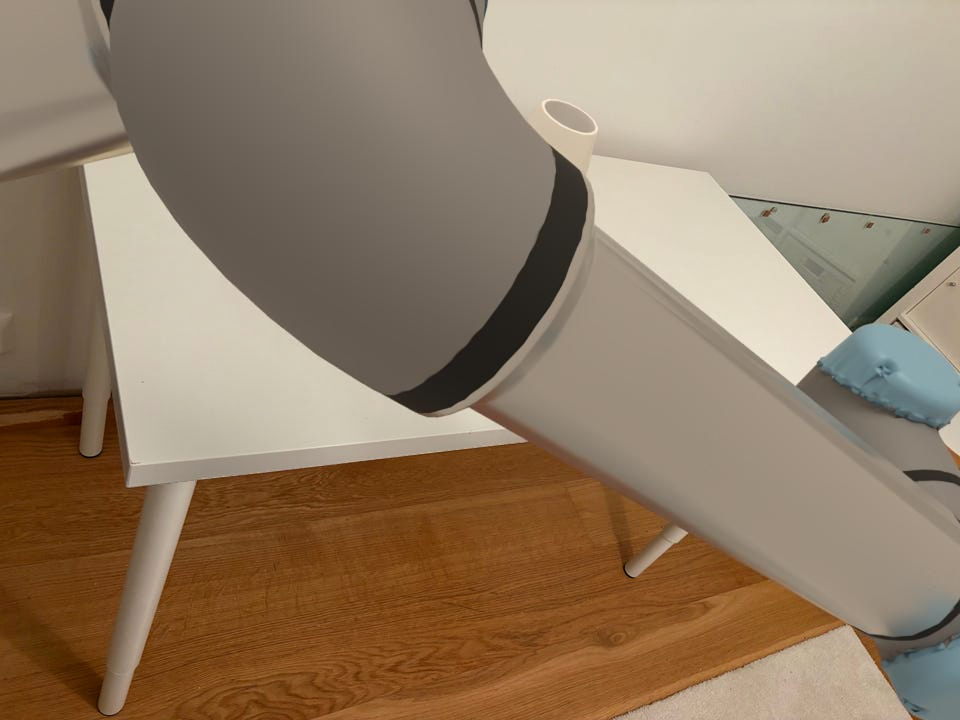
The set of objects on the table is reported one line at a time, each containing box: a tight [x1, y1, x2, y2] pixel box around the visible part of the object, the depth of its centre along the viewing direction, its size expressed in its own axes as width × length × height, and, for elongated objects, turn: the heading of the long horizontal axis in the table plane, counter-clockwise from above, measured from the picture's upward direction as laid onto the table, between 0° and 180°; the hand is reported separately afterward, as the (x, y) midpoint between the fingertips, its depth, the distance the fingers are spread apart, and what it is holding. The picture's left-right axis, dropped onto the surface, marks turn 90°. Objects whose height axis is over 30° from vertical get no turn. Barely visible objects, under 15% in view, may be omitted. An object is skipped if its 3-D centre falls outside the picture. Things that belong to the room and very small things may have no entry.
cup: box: [526, 98, 599, 176], centre depth 105 cm, size 13×13×14 cm
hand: (493, 234), depth 65 cm, fingers open, 13 cm apart
